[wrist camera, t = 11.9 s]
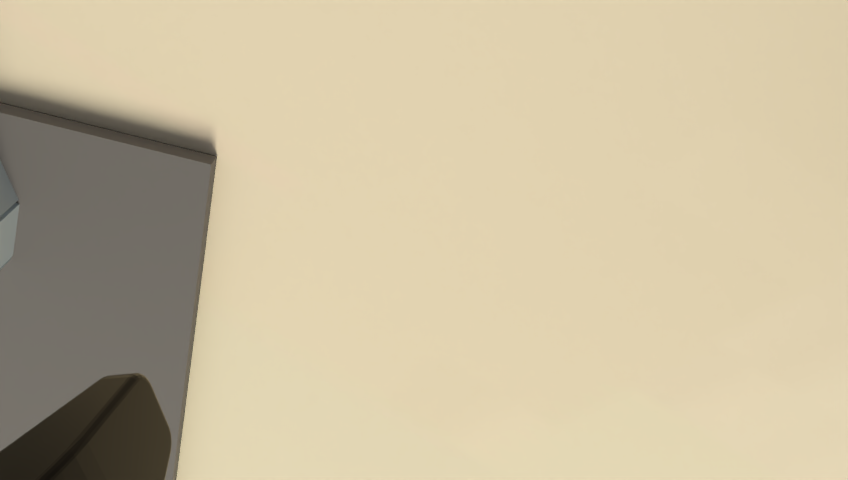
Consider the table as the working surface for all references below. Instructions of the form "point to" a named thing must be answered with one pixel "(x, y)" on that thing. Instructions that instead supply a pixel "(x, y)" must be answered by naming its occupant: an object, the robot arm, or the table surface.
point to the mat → (98, 266)
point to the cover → (7, 217)
